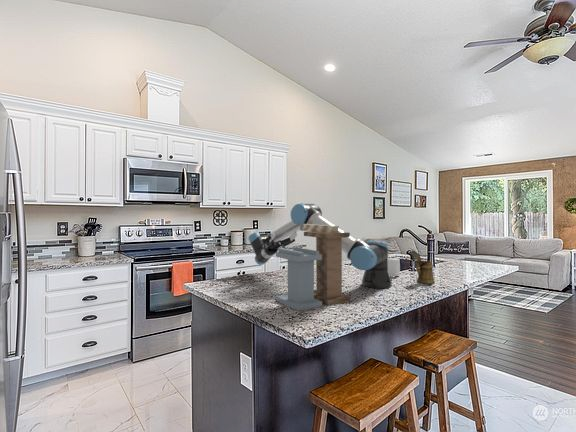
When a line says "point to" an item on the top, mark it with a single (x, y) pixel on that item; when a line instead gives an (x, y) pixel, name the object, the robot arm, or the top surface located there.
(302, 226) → the rail
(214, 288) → the top surface
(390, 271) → the cup
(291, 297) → the low bracket
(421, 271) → the wooden mug
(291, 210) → the robot arm
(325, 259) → the tall bracket
